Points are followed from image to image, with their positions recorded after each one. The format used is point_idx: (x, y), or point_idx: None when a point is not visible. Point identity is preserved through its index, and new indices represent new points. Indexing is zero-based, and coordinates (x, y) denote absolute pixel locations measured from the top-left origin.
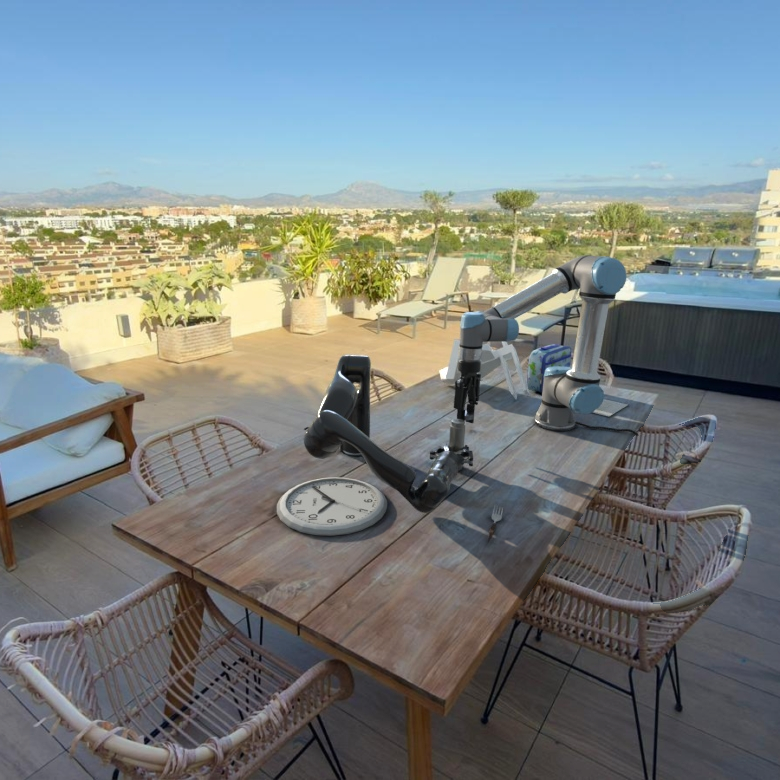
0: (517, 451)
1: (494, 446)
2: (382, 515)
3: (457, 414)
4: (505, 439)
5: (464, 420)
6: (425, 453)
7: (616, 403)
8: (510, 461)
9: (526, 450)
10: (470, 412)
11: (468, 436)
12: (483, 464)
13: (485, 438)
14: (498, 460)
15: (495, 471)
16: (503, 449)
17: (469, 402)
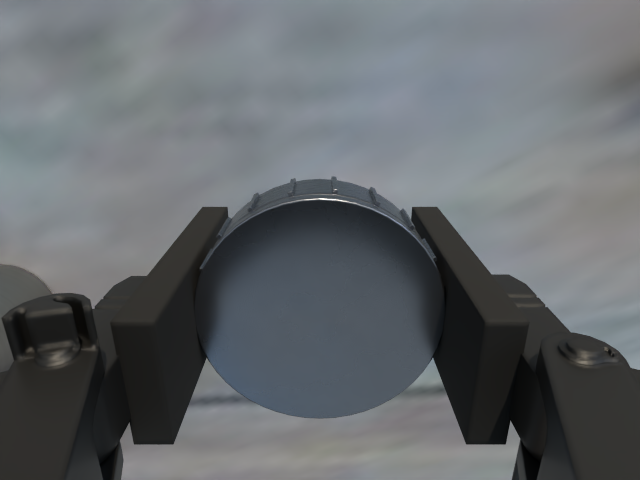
0: (456, 446)
1: None
2: None
3: (95, 313)
4: (602, 336)
5: None
6: (6, 26)
7: None
8: (309, 466)
9: (497, 472)
10: (385, 357)
11: (523, 114)
12: None
13: (552, 232)
14: (278, 423)
15: (151, 460)
16: (437, 387)
17: (535, 371)
